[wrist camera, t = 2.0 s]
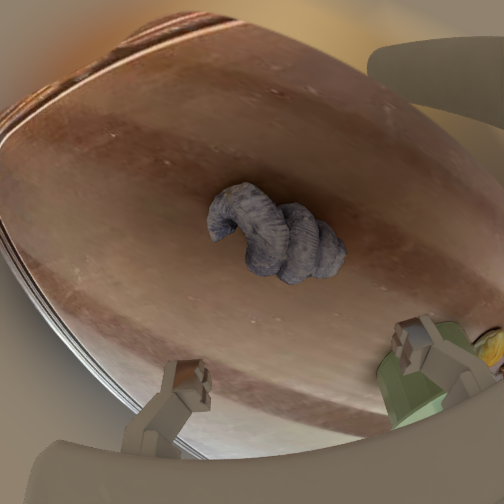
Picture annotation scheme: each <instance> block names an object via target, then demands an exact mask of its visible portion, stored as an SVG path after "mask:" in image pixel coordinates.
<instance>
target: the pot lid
mask: <svg viewBox="0 0 504 504" xmlns="http://www.w3.org/2000/svg"><path fill="white" fill-rule="evenodd" d="M490 372H491V371H490ZM491 373H492V372H491ZM492 375H493V373H492ZM493 377H494V375H493ZM446 395H447V392H446V391H444V390H443V391H441V392H439V393H438V394H436V395H434V396H433V397H431V398H430V399H428V400H426V401H425V402H423V403H422V404H420V405H419V406H417V407H416V408H414V409H413V410H412V411H410V412H409V413H407V414H406V415H405V416H404V417H402V418H401V419H400V420H399V421H398V422H397V423H396V424H395V425H394V426H393V427H392V429H391V430H394V429H397V428H400V427H403V426H406V425H408V424H411V423H414V422H416V421H419V420H422V419H424V418H427V417H429V416H431V415H434V414H436V413H438V412H441V411H443V408H442V406H441V402H442V400H443V399H444V398H445V396H446Z"/></svg>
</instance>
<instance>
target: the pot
mask: <svg viewBox="0 0 504 504" xmlns="http://www.w3.org/2000/svg"><path fill="white" fill-rule="evenodd" d="M435 326H436V328H437V330H438V331H439V333H440V335H441V336H442V338H443V340H448V341H450V342H452V343H453V344H455V345H457V346H459V347H461V348H462V349H464V350H466V351H468V352H469V353H471V354H473V355H475V356H476V357H478V358H480V356H479V354H478V353H477V351H476V349H475V348H474V346H473V344H472V342H471V341H470V339H469V338H468V336H467V334H466V333H465V331H464V330H463V329H462V328H461V326H460V325H459V324H457V323H455V322H443V323H438V324H435ZM480 359H481V358H480ZM399 360H400V359H399V358H398V357H396V356H395V355H394V352H393V350H392V351H391V352H390V353H389V354H388V355H387V356H386V358H385V359H384V360H383V361H382V363H381V364H380V366H379V368H378V371H377V381H378V384H379V387H380V390H381V393H382V397H383V400H384V403H385V406H386V409H387V412H388V416H389V419H390V422H391V425H392V427H393V426H394V425H395V424H396V423H397V422H398V421H399V420H400V419H401V418H402V417H404V416H405V415H406V414H407V413H409V412H410V411H412V410H413V409H414V408H416V407H417V406H419V405H420V404H422V403H423V402H425V401H426V400H428V399H430V398H431V397H433V396H434V395H436V394H438V393H439V392H441V391H443V389H442V388H440V387H439V386H438V385H437V384H435V383H434V382H433V381H432V380H430V379H429V378H428V377H427V376H425V375H424V374H423V373H422V372H420V371H417V372H414V373H411V374H407V375H404V376H403V373H402V371H401V369H400V366H399Z"/></svg>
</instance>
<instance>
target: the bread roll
mask: <svg viewBox="0 0 504 504" xmlns="http://www.w3.org/2000/svg"><path fill="white" fill-rule="evenodd" d="M473 346H474V348H475V349H476V351H477V353H478V354H479V356H480V358H481V359H482V360H483V361H485V363H486V364H487V366H488V368H489V367H491V366H493V365H494V364H495V363H497V362H498V361H499V359H500V358H501V357H502V356H503V354H504V331H503V330H501V329H498V330H492V331H490V332H488V333H486V334H484V335H483V336H482V337H481V338H480V339H478V340H477V341H476V343H475V344H474V345H473Z"/></svg>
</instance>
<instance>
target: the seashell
mask: <svg viewBox="0 0 504 504" xmlns="http://www.w3.org/2000/svg"><path fill="white" fill-rule="evenodd" d="M237 226H239V227H240V228H241V229H242V231H243V232H244V234H245V235H246V237H247V244H248V247H247V249H246V255H245V259H246V264H247V267H248V269H249V270H250V271H251V272H253V273H254V274H256V275H258V276H260V277H261V276H264V277H266V276H270V275H275V274H276V275H277V277H278V278H279V279H280V280H282V281H283V282H285V283H287V284H288V285H294V284H298V283H300V282H302V281H303V280H304V279H306V278H307V277H316V279H319V278H323V279H325V278H328V277H332V276H334V275H336V274H337V272H338V270H339V268H340V266H341V265H342V264H343V263H344V262H345V261H344V260H343V259H344V257H345V255H346V254H347V251H346V247H345V245H344V243H343V241H342V240H341V239H339V238H338V237H337V236H336V234H335V232H334V231H333V229H332V228H331V227H330V226H329V225H328V224H327V223H326V222H325V221H322V220H318V219H314V216H313V214H312V213H311V212H310V211H309V210H308V209H307V208H306V207H305V206H302V205H300V204H299V203H297V202H296V203H290V204H281V205H279V206H277V207H276V203H273V202H272V200H271V199H270V198H268V195H266V194H264V192H263V191H261V190H260V189H259V188H258V187H256V186H255V185H253V184H251V183H248V182H244V183H242V184H240V185H234V186H231V187H228V188H226V189H224V190H223V191H222V192H221V193H220V194H218V195H217V196H215V199H214V201H213V202H212V204H211V205H210V207H209V214H208V217H207V228H208V231H209V233H210V238H211V239H212V241H213V242H217V241H219V240H220V239H222V238H224V237H225V236H226V235H227V234H231V233H233V232H235V230H236V228H237Z"/></svg>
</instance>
